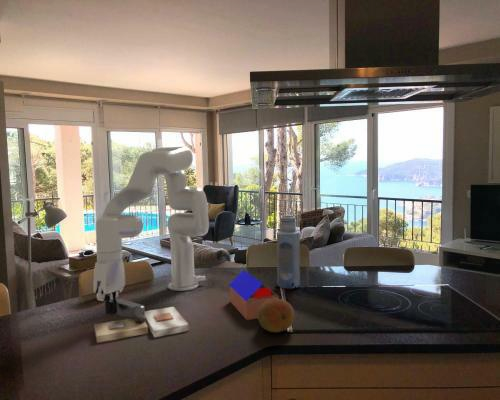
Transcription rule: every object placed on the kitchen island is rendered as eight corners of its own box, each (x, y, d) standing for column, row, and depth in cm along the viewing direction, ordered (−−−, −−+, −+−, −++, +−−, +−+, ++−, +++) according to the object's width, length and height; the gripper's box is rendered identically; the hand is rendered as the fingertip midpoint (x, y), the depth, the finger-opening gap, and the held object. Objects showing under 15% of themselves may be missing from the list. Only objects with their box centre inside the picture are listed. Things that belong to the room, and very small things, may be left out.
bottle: (274, 287, 163) (273, 216, 161) (281, 281, 172) (280, 213, 170) (296, 289, 159) (295, 216, 157) (302, 283, 169) (301, 213, 166)
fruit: (266, 341, 111) (265, 307, 111) (249, 326, 123) (248, 295, 122) (301, 334, 116) (301, 301, 115) (281, 319, 128) (281, 289, 127)
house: (259, 298, 150) (258, 268, 150) (280, 316, 132) (279, 281, 131) (229, 302, 146) (228, 271, 146) (246, 321, 128) (245, 286, 127)
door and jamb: (173, 312, 136) (173, 305, 136) (188, 330, 120) (188, 322, 120) (93, 326, 125) (93, 318, 125) (98, 348, 109) (97, 339, 109)
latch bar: (147, 320, 123) (146, 306, 123) (138, 323, 120) (138, 309, 120) (120, 312, 131) (120, 298, 131) (112, 315, 128) (111, 301, 128)
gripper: (115, 251, 132) (117, 305, 133) (82, 260, 118) (84, 319, 119) (134, 252, 130) (135, 307, 131) (102, 261, 116) (104, 322, 117)
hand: (111, 313), depth 125 cm, fingers closed
